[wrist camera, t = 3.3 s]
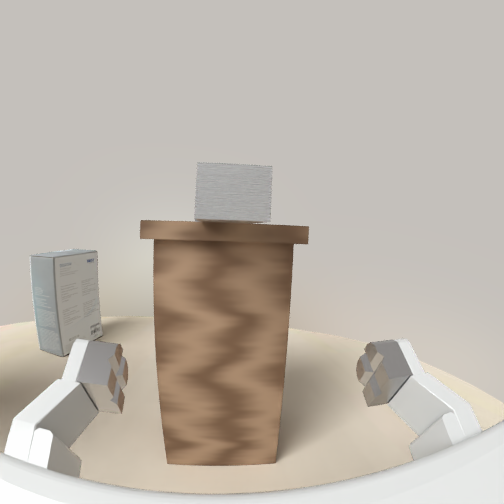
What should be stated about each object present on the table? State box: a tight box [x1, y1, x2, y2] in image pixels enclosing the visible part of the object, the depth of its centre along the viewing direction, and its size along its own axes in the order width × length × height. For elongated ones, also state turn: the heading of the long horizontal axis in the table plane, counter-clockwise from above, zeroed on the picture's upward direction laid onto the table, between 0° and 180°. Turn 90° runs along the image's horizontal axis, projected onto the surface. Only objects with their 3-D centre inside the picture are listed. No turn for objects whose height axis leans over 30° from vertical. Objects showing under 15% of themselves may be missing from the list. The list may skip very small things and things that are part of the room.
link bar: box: [195, 162, 272, 224], centre depth 27 cm, size 6×22×4 cm, turn 7°
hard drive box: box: [30, 249, 102, 357], centre depth 57 cm, size 16×8×20 cm, turn 172°
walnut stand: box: [140, 220, 309, 466], centre depth 33 cm, size 14×13×26 cm
